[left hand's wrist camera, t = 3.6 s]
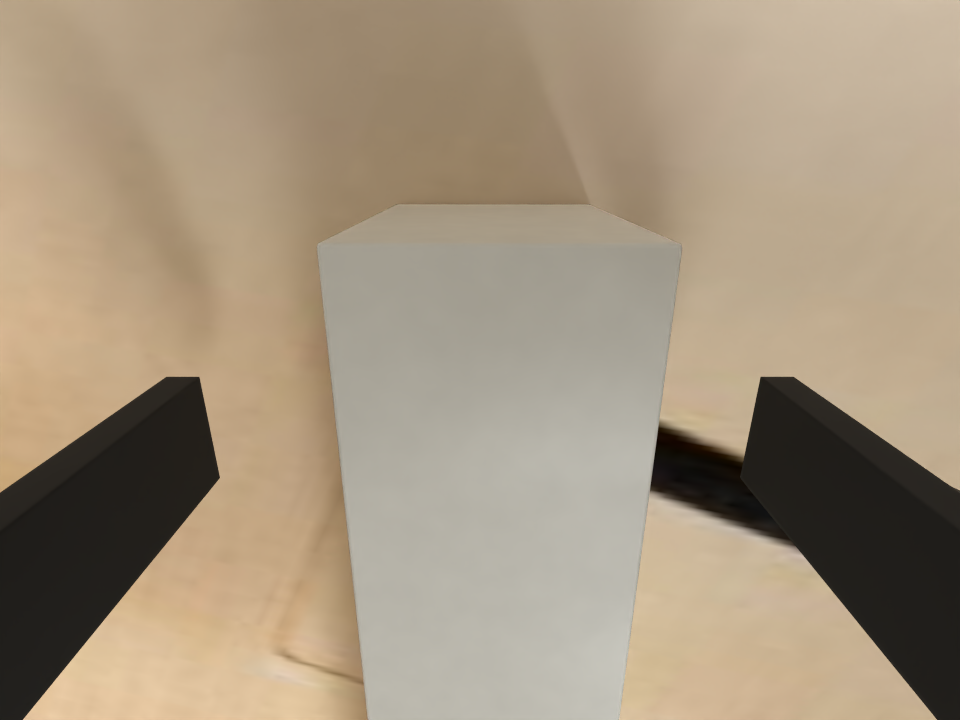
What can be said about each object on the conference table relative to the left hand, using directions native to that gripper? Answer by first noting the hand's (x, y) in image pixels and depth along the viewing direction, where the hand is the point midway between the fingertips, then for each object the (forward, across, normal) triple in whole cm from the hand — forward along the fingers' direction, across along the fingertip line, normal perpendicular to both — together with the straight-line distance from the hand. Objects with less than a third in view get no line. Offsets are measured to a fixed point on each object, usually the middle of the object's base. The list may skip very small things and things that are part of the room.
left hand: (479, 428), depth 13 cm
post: (+4, 0, -35) cm, 36 cm away
